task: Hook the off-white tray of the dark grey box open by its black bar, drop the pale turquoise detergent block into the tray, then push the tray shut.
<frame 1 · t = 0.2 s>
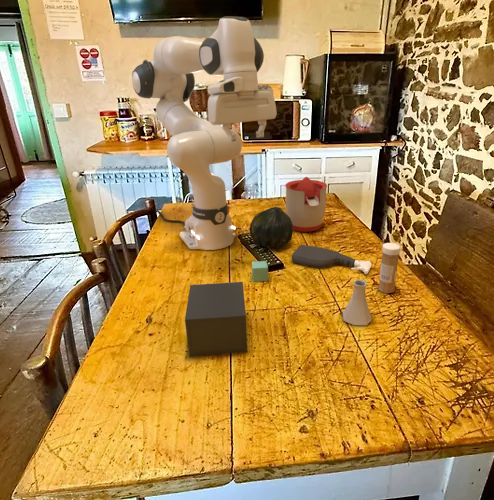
hand: (246, 139, 109), 39 cm above the table, tool pointing down, fingers open, 8 cm apart
sprinkles bottle: (386, 290, 110), on the table
flask: (356, 318, 98), on the table
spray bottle: (331, 264, 125), on the table
detergent block: (260, 277, 117), on the table
squash: (272, 244, 140), on the table
dark grey box: (219, 334, 93), on the table
tray: (217, 306, 95), point 5 cm above the table, slide at 0.5 cm
citrus juicer: (305, 228, 154), on the table
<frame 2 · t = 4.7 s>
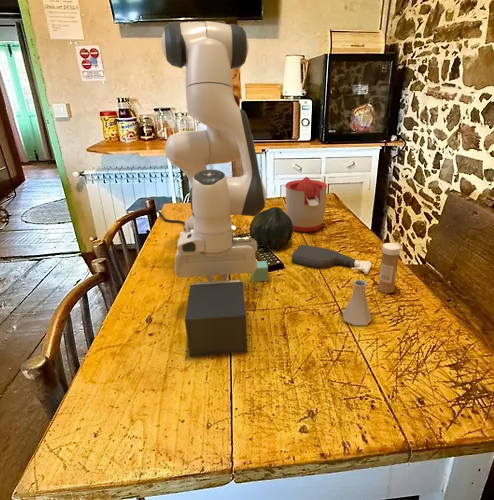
hand: (218, 288, 101), 5 cm above the table, tool pointing down, fingers closed, pressing on tray
tray: (217, 304, 96), point 5 cm above the table, slide at 1.7 cm, touching gripper
everything else where it was.
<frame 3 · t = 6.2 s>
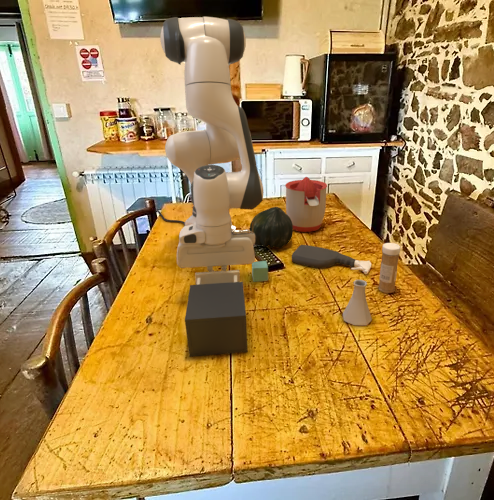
hand: (218, 279, 106), 5 cm above the table, tool pointing down, fingers closed
tray: (218, 293, 100), point 5 cm above the table, slide at 6.9 cm, touching gripper
everything else where it was.
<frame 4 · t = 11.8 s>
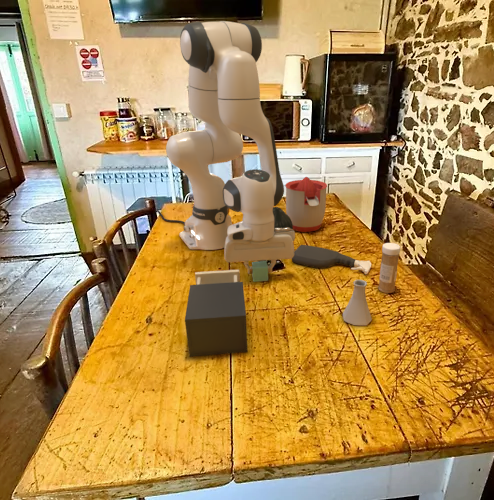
hand: (259, 272, 117), 2 cm above the table, tool pointing down, fingers closed on detergent block, 4 cm apart
detergent block: (260, 277, 117), on the table, touching gripper
tray: (218, 292, 101), point 5 cm above the table, slide at 7.1 cm
everything else where it was.
when the fingers open (10 cm above the table, at t = 16.9 s): detergent block drops 6 cm, resting on tray.
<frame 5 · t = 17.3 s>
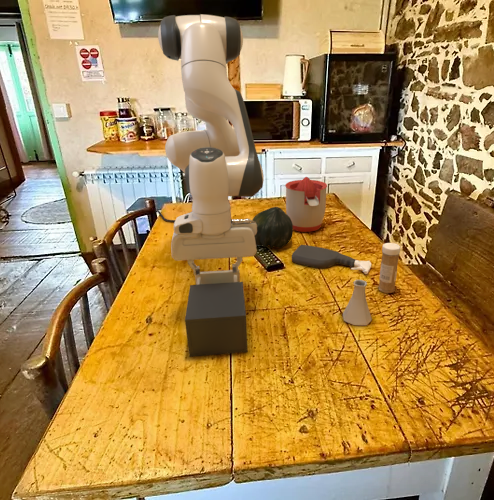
hand: (216, 272, 98), 11 cm above the table, tool pointing down, fingers open, 8 cm apart
detergent block: (219, 302, 101), point 2 cm above the table, touching tray
tray: (218, 292, 101), point 5 cm above the table, slide at 7.1 cm, touching detergent block
everything else where it was.
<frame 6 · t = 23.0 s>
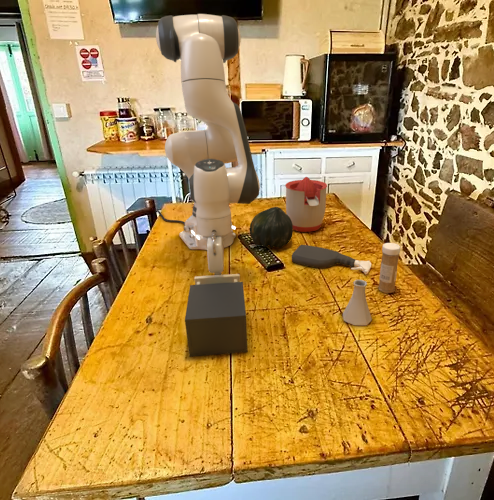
hand: (218, 273, 106), 6 cm above the table, tool pointing down, fingers closed
detergent block: (219, 307, 99), point 2 cm above the table, touching tray
tray: (218, 297, 98), point 5 cm above the table, slide at 4.7 cm, touching detergent block, gripper
everything else where it was.
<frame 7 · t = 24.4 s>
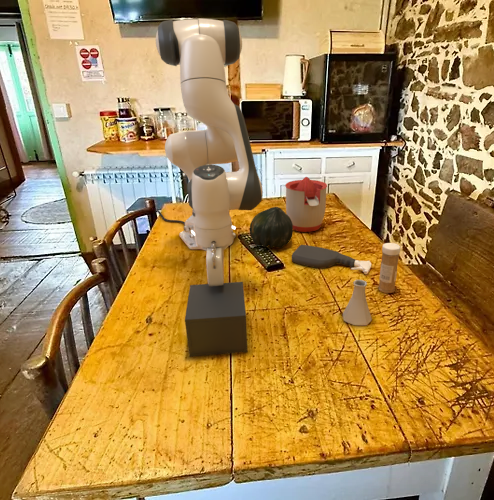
hand: (218, 283, 102), 6 cm above the table, tool pointing down, fingers closed, pressing on tray
detergent block: (218, 318, 95), point 2 cm above the table, touching tray
tray: (217, 307, 94), point 5 cm above the table, slide at 0.0 cm, touching detergent block, dark grey box, gripper
everything else where it was.
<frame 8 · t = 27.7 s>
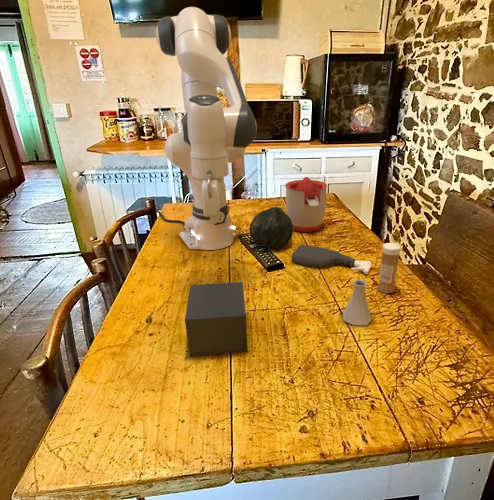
hand: (214, 221, 101), 21 cm above the table, tool pointing down, fingers closed
tray: (217, 307, 94), point 5 cm above the table, slide at 0.0 cm, touching detergent block, dark grey box
everything else where it was.
at the end: tray pulled out 7.1 cm at the most during the clip, back to where it started at the end; detergent block inside the target area in the dark grey box (3.5 cm from its centre), point 2.0 cm above the dark grey box's base; tray slide at 0.0 cm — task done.
